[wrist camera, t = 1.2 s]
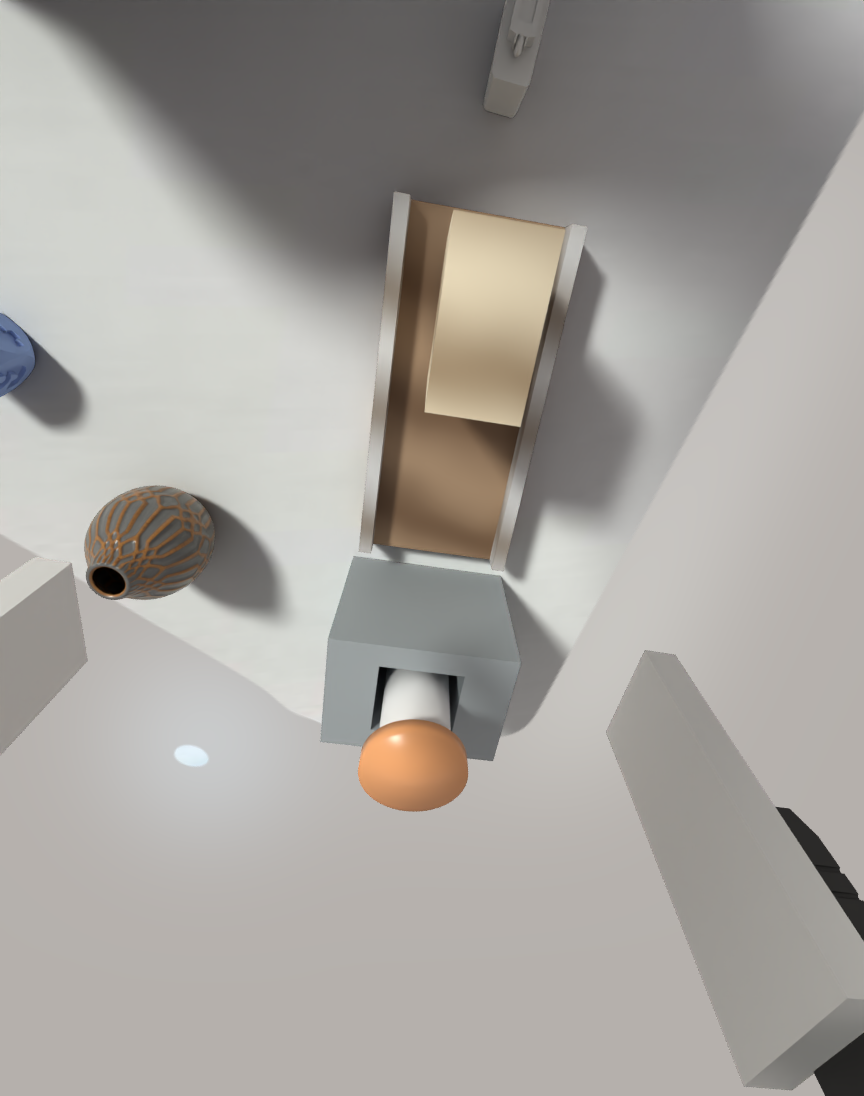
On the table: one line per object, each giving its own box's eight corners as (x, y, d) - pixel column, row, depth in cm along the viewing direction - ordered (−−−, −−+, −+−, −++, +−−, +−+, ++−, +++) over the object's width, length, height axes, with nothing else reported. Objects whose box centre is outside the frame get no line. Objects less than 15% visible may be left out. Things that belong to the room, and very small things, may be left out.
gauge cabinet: (353, 556, 37) (328, 638, 28) (508, 577, 38) (531, 664, 29) (345, 643, 41) (320, 742, 32) (487, 661, 41) (502, 761, 32)
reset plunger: (379, 630, 32) (363, 728, 24) (467, 641, 32) (477, 741, 25) (370, 698, 34) (353, 805, 27) (452, 708, 34) (457, 816, 27)
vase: (242, 502, 35) (187, 561, 27) (210, 577, 38) (151, 650, 30) (143, 455, 34) (56, 502, 26) (117, 536, 36) (31, 601, 29)
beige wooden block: (446, 239, 26) (453, 209, 18) (521, 252, 27) (565, 229, 18) (427, 377, 30) (424, 412, 21) (494, 387, 30) (520, 426, 21)
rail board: (396, 201, 27) (391, 190, 25) (574, 233, 28) (589, 226, 25) (362, 532, 36) (357, 551, 34) (499, 551, 37) (504, 571, 34)
